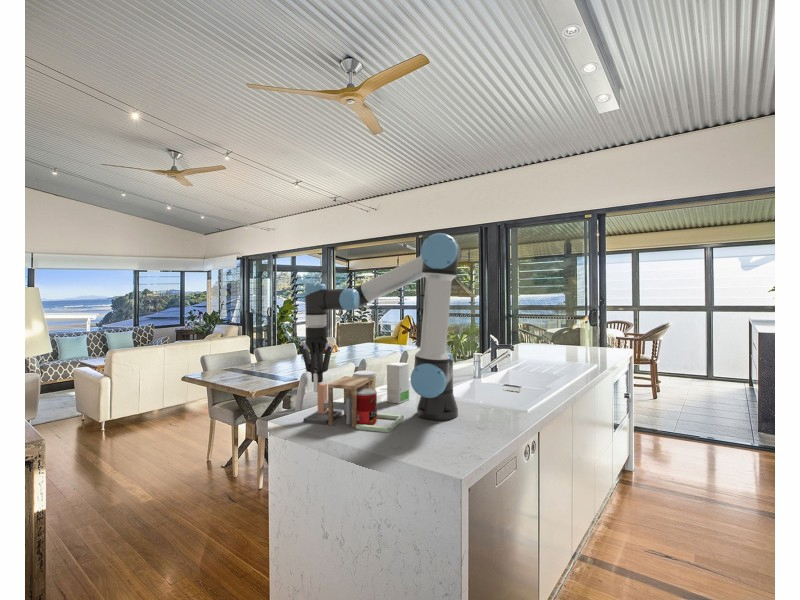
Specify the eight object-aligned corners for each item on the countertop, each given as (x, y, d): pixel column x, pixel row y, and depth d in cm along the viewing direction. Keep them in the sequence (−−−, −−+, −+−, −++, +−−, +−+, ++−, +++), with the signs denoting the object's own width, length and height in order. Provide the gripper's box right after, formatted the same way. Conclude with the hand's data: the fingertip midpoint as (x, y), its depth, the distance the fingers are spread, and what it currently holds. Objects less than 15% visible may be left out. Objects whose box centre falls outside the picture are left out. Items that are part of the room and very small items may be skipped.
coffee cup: (351, 403, 171) (350, 374, 171) (358, 397, 180) (358, 369, 180) (373, 404, 169) (372, 375, 168) (379, 398, 178) (378, 370, 178)
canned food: (374, 426, 142) (373, 394, 142) (351, 425, 143) (351, 393, 143) (379, 419, 149) (379, 388, 149) (357, 418, 151) (357, 388, 151)
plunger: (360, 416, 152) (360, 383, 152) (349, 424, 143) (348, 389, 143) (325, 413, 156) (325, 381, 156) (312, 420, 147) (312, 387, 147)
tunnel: (370, 416, 153) (369, 377, 153) (355, 428, 140) (354, 385, 140) (345, 414, 156) (345, 376, 156) (328, 425, 143) (328, 384, 143)
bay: (403, 418, 150) (403, 415, 150) (389, 432, 136) (389, 428, 136) (372, 415, 154) (372, 412, 153) (355, 428, 139) (355, 425, 139)
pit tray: (341, 414, 156) (341, 411, 156) (326, 424, 144) (326, 420, 144) (320, 412, 158) (320, 409, 158) (303, 422, 147) (303, 418, 147)
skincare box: (399, 404, 169) (399, 365, 168) (385, 402, 172) (385, 364, 172) (410, 399, 176) (409, 362, 176) (396, 397, 179) (396, 361, 179)
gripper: (337, 325, 153) (338, 389, 153) (305, 325, 157) (307, 387, 157) (327, 327, 146) (328, 394, 146) (294, 327, 150) (296, 392, 150)
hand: (317, 391), depth 152 cm, fingers closed
